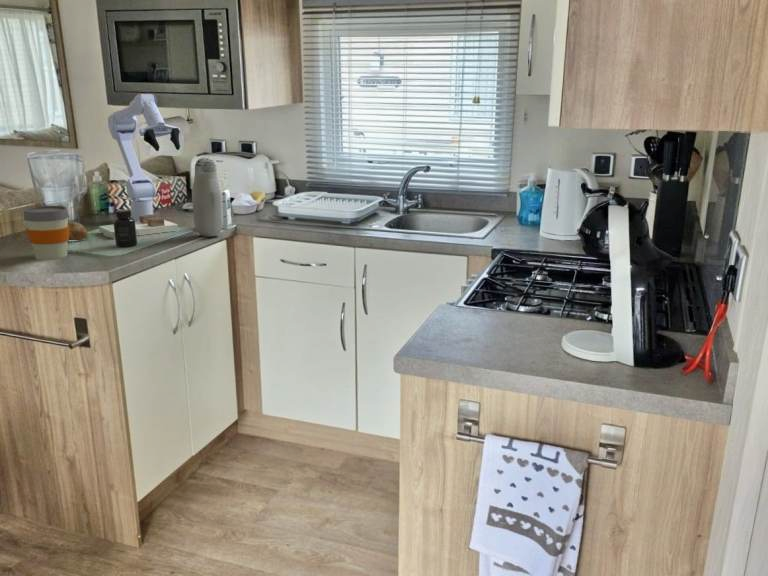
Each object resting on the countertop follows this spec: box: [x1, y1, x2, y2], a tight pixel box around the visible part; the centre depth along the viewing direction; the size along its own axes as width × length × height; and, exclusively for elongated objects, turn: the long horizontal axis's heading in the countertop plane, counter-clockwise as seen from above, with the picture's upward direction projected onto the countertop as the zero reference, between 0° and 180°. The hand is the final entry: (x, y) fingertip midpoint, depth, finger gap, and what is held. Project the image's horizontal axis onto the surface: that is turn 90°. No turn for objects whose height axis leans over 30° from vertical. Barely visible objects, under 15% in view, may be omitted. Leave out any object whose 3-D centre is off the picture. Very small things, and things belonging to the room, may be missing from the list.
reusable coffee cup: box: [23, 205, 70, 261], centre depth 208 cm, size 13×13×15 cm
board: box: [135, 219, 179, 236], centre depth 251 cm, size 14×15×2 cm
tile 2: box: [147, 216, 165, 227], centre depth 247 cm, size 4×4×2 cm
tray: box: [98, 224, 139, 239], centre depth 243 cm, size 14×9×2 cm, turn 41°
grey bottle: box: [191, 157, 223, 238], centre depth 239 cm, size 10×10×28 cm
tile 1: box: [139, 214, 157, 224], centre depth 253 cm, size 4×4×2 cm
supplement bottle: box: [113, 209, 138, 248], centre depth 225 cm, size 7×7×12 cm
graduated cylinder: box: [221, 188, 233, 230], centre depth 255 cm, size 6×6×14 cm
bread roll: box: [68, 221, 89, 241], centre depth 234 cm, size 10×10×8 cm
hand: (168, 148), depth 238 cm, fingers open, 7 cm apart
